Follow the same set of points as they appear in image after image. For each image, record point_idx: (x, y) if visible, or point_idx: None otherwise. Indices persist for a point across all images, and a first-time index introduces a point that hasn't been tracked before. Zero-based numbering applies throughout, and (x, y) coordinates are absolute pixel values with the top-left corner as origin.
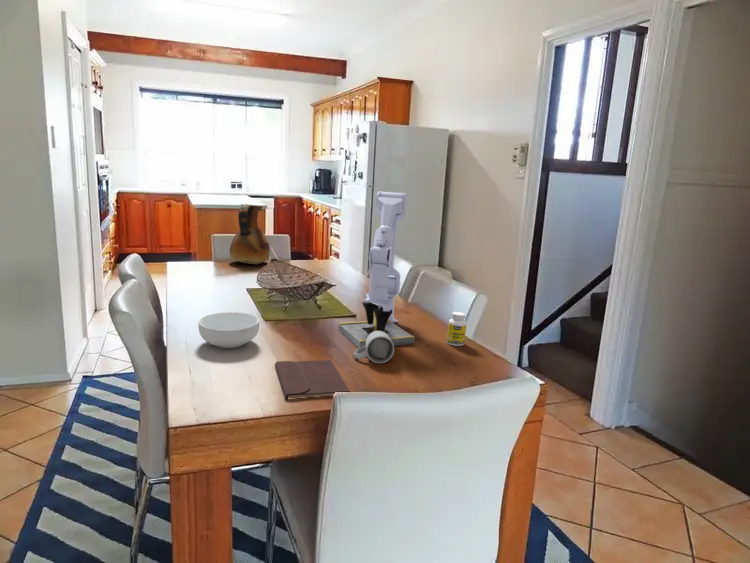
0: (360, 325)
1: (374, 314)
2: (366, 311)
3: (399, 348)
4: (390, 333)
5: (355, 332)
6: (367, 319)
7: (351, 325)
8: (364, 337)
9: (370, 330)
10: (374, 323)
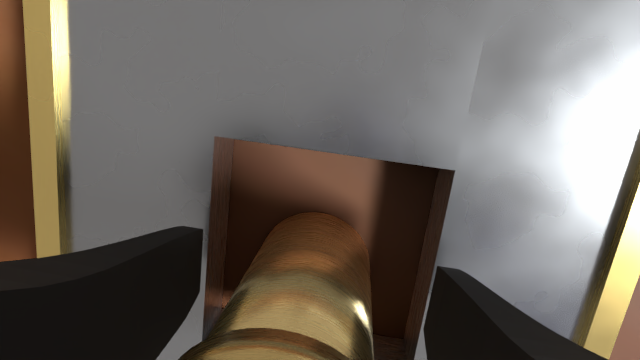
0: (534, 209)
1: (246, 339)
2: (531, 340)
3: (21, 257)
4: (194, 337)
5: (335, 25)
6: (469, 283)
7: (586, 111)
8: (149, 35)
9: (425, 260)
10: (285, 274)
